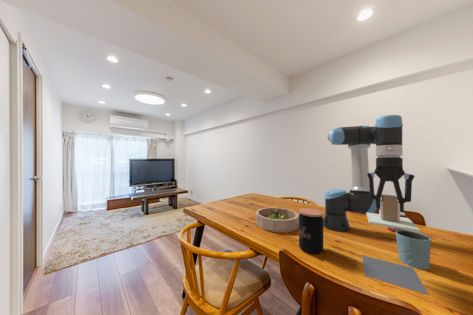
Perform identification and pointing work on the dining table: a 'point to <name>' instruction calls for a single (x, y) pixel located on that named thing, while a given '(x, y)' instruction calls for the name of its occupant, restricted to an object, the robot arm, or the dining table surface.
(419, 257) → the blue pot
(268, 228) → the cachepot ring
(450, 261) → the dining table surface
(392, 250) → the dining table surface
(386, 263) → the mat
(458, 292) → the dining table surface
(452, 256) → the dining table surface
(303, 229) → the coffee jar
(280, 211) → the plant
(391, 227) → the canned food
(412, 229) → the lid
